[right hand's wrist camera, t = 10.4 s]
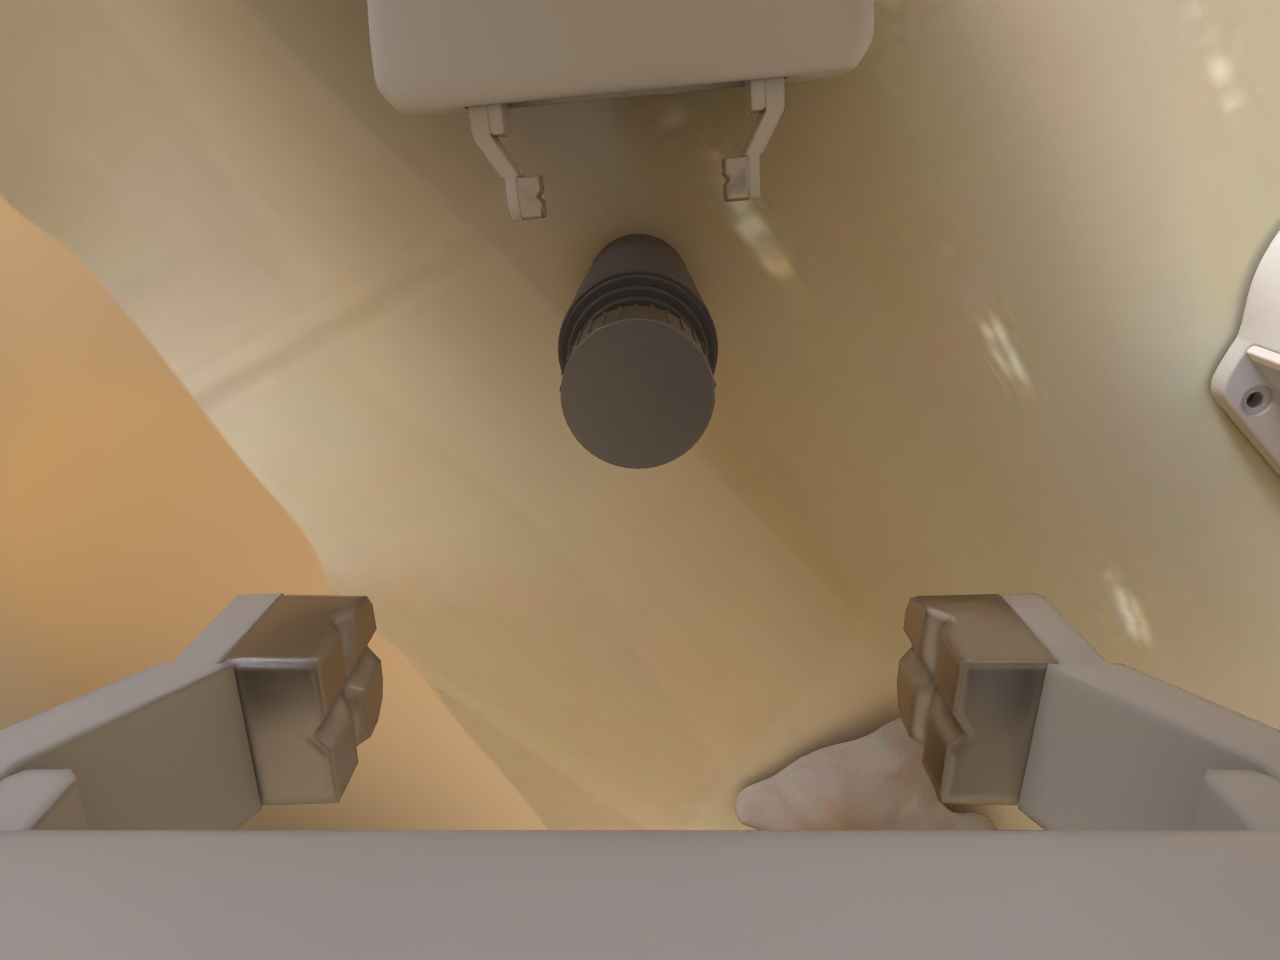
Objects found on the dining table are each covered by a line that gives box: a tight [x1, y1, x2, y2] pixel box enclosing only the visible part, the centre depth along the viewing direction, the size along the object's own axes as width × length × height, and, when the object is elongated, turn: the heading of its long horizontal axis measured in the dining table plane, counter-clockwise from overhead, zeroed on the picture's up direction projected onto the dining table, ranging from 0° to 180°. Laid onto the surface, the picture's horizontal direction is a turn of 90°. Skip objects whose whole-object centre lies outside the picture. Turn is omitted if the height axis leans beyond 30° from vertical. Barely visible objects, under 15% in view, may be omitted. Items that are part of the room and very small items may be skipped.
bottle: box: [558, 234, 718, 375], centre depth 32 cm, size 5×5×22 cm
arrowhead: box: [735, 717, 996, 830], centre depth 55 cm, size 14×5×30 cm
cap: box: [560, 304, 716, 469], centre depth 23 cm, size 4×4×2 cm
